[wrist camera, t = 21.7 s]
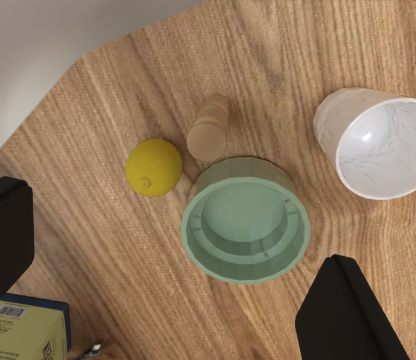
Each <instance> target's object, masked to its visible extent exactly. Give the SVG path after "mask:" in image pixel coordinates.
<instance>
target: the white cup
mask: <svg viewBox="0 0 416 360" xmlns="http://www.w3.org/2000/svg"><path fill="white" fill-rule="evenodd" d="M313 129H314V134H315V137H316V139H317V140H318V142H319V144H320V146H321V149H322V150H323V152H324V154H325V155H326V157H327V159H328V161H329V162H330V164H331V165H332V167H333V168H334V170H335V171H336V173H337V174H338V176H339V178H340V179H341V181H342V182H343V184H344V185H345V186H346V187H347V188H348V189H349V190H351V191H352V192H354V193H355V194H357V195H359V196H362V197H365V198H369V199H375V200H387V199H394V198H398V197H401V196H404V195H407V194H409V193H411V192H413V191H415V190H416V99H415V98H410V97H406V96H402V95H398V94H393V93H389V92H385V91H378V90H374V89H364V88H360V87H350V88H341V89H339V90H337V91H336V92H334V93H332V94H330V95H328V96H327V97H326V98H325V99H324V100H323V101H322V103H321V104H320V105H319V106H318V107H317V109H316V112H315V116H314V119H313Z"/></svg>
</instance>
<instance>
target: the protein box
mask: <svg viewBox="0 0 416 360" xmlns="http://www.w3.org/2000/svg"><path fill="white" fill-rule="evenodd" d="M70 349H71V339H70V326H69V313H68V304H67V303H60V302H54V301H49V300H43V299H37V298H31V297H25V296H19V295H13V294H7V293H5V294H4V295H3V296H2V298H1V299H0V360H65V358H66V356H67V354H68V352H69V351H70Z"/></svg>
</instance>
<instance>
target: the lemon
mask: <svg viewBox="0 0 416 360" xmlns="http://www.w3.org/2000/svg"><path fill="white" fill-rule="evenodd" d="M125 171H126V178H127V181H128V183H129V185H130V186H131V188H132V189H134V190H135V191H136V192H137V193H139V194H140V195H143V196H146V197H158V196H161V195H164V194H166V193H167V192H169V191H170V190H171V189H172V188H173V187H174V186H175V185H176V184H177V182H178V181H179V178H180V176H181V173H182V158H181V156H180V153H179V152H178V150H177V149H176V147H174V146H173V145H172V144H171V143H169V142H167V141H165V140H162V139H150V140H146V141H144V142H142V143H140V144H138V145H137V146H136V147H135V148H134V149H133V150H132V152H131V153H130V155H129V157H128V159H127V163H126V168H125Z"/></svg>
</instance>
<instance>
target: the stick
mask: <svg viewBox="0 0 416 360" xmlns="http://www.w3.org/2000/svg"><path fill="white" fill-rule="evenodd" d="M228 118H229V104H228V101H227V100H226V99H225V98H224V97H223V96H221V95H218V94H214V95H211V96H209V97H207V98H206V99H205V101H204V103H203V105H202V107H201V109H200V111H199V113H198V115H197V117H196V119H195V121H194V123H193V125H192V127H191V129H190V131H189V134H188V136H187V148H188V150H189V152H190V154H191V155H192V156H193V157H194V158H196V159H198V160H200V161H204V162H211V161H214V160H217V159H218V158H220V157H221V156H222V155H223V153H224V152H225V150H226V146H227V132H228Z"/></svg>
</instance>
